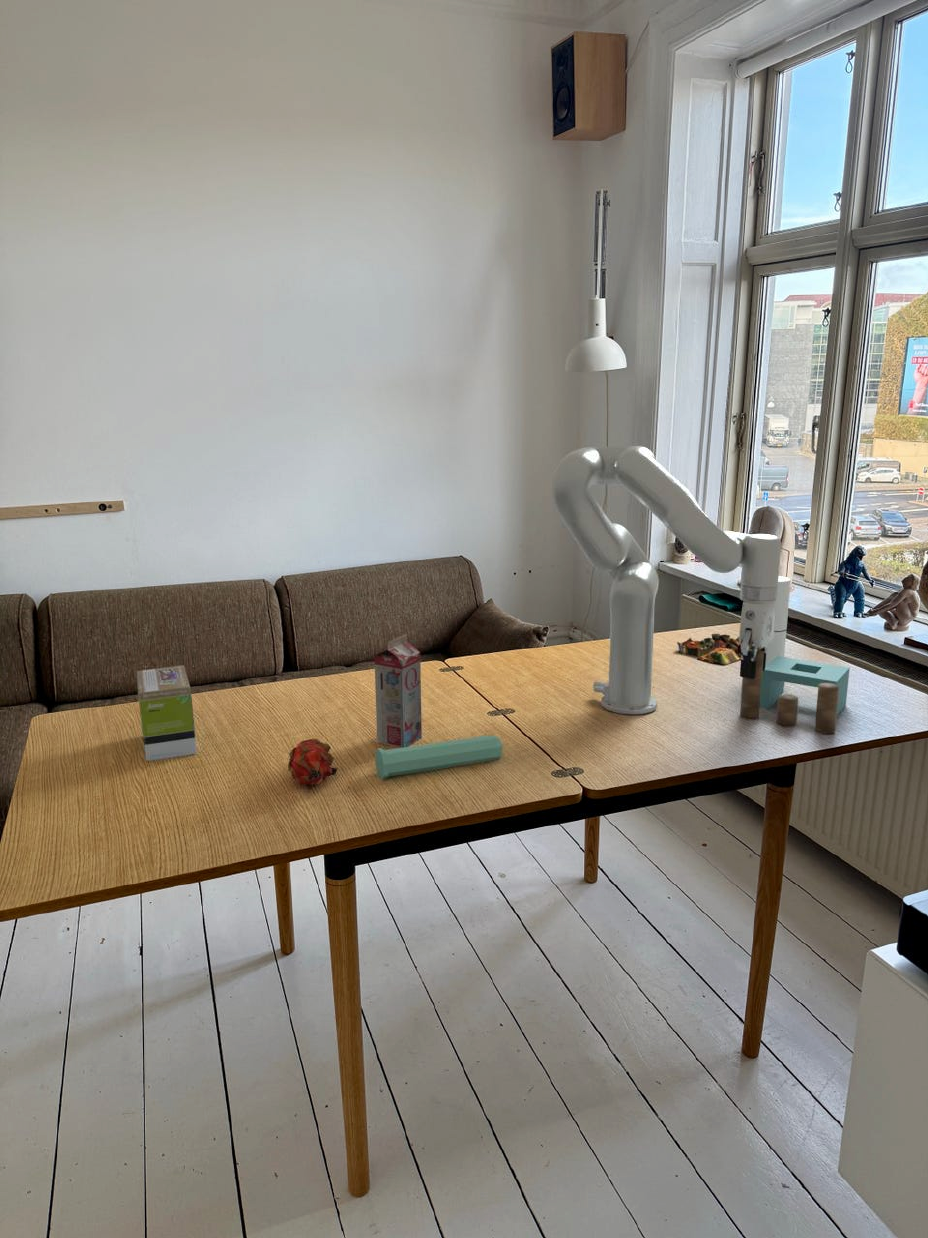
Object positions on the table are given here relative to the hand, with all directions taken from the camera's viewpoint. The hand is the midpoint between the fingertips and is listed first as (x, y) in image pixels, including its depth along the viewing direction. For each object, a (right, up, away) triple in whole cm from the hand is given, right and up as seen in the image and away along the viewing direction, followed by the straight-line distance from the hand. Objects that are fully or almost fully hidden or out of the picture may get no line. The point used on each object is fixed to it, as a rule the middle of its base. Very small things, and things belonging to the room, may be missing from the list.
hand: (752, 672), depth 201 cm
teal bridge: (+14, -8, +9) cm, 18 cm away
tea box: (-123, -14, -11) cm, 125 cm away
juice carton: (-76, -14, -9) cm, 78 cm away
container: (-67, -17, -22) cm, 73 cm away
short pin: (+7, -11, -2) cm, 13 cm away
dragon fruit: (-91, -19, -29) cm, 97 cm away
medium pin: (+13, -12, -6) cm, 19 cm away
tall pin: (0, -10, +3) cm, 10 cm away
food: (+7, +2, +51) cm, 51 cm away
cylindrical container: (+13, -3, +29) cm, 32 cm away
